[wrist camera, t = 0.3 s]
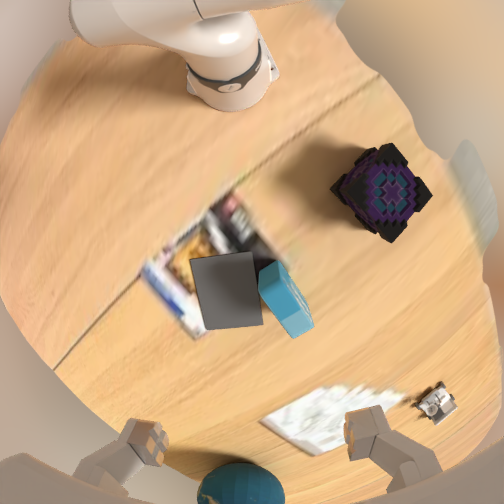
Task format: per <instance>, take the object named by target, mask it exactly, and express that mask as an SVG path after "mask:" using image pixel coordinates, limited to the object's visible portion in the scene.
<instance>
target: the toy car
mask: <svg viewBox="0 0 504 504" xmlns="http://www.w3.org/2000/svg"><path fill="white" fill-rule="evenodd" d="M440 384H441V386H439V387H438V388H437V389H436V388H435V389H434V390H433V391H431V392H430V393H429V394H428V395H427V396H426V397H424V398H423V399H422V402H421V403H419V404H418V403H417V402H416V403H415V406H416V407H417V409H418V410H420V409H421V408H422V409H423V410H424V411H425V412H426V414H427V417H428V418H429V419H430V420H431V419H432V420H433V422H434V424H435V426H437V425H438V424H439V423H440V422H442V421H443V420H444V419H445V418H447V417H448V416H449V415H450V414H451V413H453V412H454V411H455V410H456V409H457V408H458V407H457V405H456V404H455V402H454V400H455V399H454V397H453V396H452V394H450V395H449V394H448V393H447V392H446V390H445V388H446V386H445V385H444V384H443V382H442V381H441V382H440Z"/></svg>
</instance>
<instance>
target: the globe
mask: <svg viewBox="0 0 504 504" xmlns="http://www.w3.org/2000/svg"><path fill="white" fill-rule="evenodd" d="M197 501H198V504H285V493H284V490H283V487H282V485H281V483H280V481H279V480H278V479H277V478H276V477H275V476H274V475H273V474H272V473H271V472H269V471H268V470H266V469H264V468H262V467H260V466H257V465H253V464H249V463H232V464H227V465H224V466H221V467H218V468H216V469H215V470H213V471H212V472H210V473H209V474H208V475H207V476H206V477H205V478H204V479H203V481H202V482H201V484H200V486H199V489H198V492H197Z"/></svg>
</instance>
